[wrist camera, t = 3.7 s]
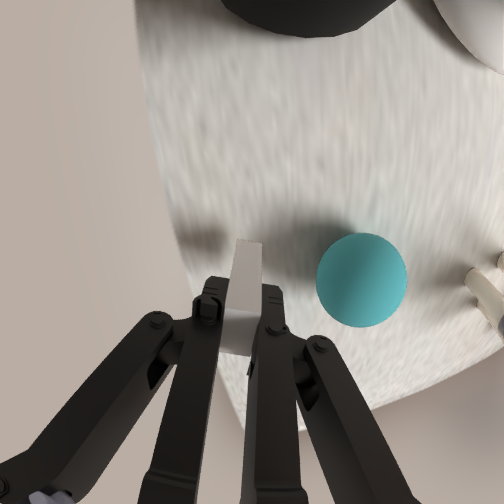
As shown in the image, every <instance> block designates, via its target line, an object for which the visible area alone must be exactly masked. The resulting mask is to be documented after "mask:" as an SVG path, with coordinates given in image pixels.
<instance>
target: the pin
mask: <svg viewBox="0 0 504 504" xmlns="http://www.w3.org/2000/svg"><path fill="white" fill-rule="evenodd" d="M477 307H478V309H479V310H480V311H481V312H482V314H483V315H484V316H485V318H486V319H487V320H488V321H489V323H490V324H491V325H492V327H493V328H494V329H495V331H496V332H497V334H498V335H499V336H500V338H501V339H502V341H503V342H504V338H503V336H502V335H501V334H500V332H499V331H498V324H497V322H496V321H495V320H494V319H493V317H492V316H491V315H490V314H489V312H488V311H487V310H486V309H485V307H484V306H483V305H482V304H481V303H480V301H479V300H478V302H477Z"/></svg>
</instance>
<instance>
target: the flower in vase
mask: <svg viewBox="0 0 504 504" xmlns="http://www.w3.org/2000/svg"><path fill="white" fill-rule="evenodd" d="M433 1H434V3H435V5H436V7H437V9H438V10H439V12H440V14H441V15H442V17H443V19H444V20H445V22H446V23H447V25H448V26H449V28H450V29H451V30H452V32H453V33H454V34H455V36H456V37H457V38H458V39H459V41H460V42H461V43H462V44H463V45H464V46H465V47H466V48H467V49H468V51H469V52H471V53H472V54H473V55H474V56H475V57H476V58H477V59H478V60H479V61H481V62H482V63H483V64H485V65H486V66H487V67H489V68H490V69H492V70H493V71H495V72H497V73H500V74H502V75H504V0H433Z"/></svg>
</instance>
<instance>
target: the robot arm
mask: <svg viewBox="0 0 504 504" xmlns="http://www.w3.org/2000/svg"><path fill="white" fill-rule="evenodd" d="M283 304H284V303H283V292H282V291H281V289H280V288H279V286H275V285H269V284H262V243H258V242H253V241H247V240H241V239H238V240H237V245H236V250H235V255H234V260H233V265H232V270H231V275H230V279H228V278H222V277H216V276H211V277H209V278H208V279H207V280H206V282H205V285H204V288H203V291H202V294H201V295H199V296H197V297H196V298H195V299H194V300H193V308H192V316H191V317H189V318H187V319H182V320H173V319H172V317H171V316H170V315H168V314H167V313H165V312H161V311H153V312H150V313H148V314H146V315H145V316H144V317H143V318H142V319H141V320H140V321H139V322H138V323H137V324H136V325H135V326H134V327H133V329H132V330H131V331H130V332H129V333H128V334H127V335H126V336H125V337H124V338H123V339H122V340H121V342H120V343H119V344H118V345H117V346H116V347H115V348H114V349H113V350H112V352H111V353H110V354H109V355H108V356H107V357H106V358H105V359H104V361H102V363H101V364H100V365H99V366H98V367H97V368H96V369H95V370H94V372H93V373H92V374H91V375H90V376H89V377H88V378H87V380H86V381H85V382H84V383H83V384H82V385H81V386H80V388H79V389H78V390H77V391H76V392H75V393H74V394H73V396H72V397H71V398H70V399H69V400H68V401H67V403H66V404H65V405H64V406H63V407H62V408H61V410H60V411H59V412H58V413H57V415H56V416H55V417H54V418H53V419H52V420H51V422H50V423H49V424H48V425H47V427H46V428H45V429H44V430H43V431H42V433H41V434H40V435H39V436H38V438H37V439H36V440H35V441H34V443H33V444H32V445H31V446H30V448H29V449H28V450H26V451H25V452H22V453H20V454H18V455H17V456H15V457H13V458H11V459H9V460H7V461H5V462H3V463H0V503H1V504H76V503H78V502H79V501H80V500H81V499H83V498H84V497H85V496H86V495H87V494H88V493H89V491H90V490H91V489H92V487H93V486H94V485H95V483H96V482H97V480H98V479H99V477H100V476H101V474H102V473H103V471H104V470H105V468H106V467H107V465H108V464H109V462H110V461H111V459H112V458H113V456H114V455H115V453H116V452H117V450H118V449H119V447H120V445H121V444H122V443H123V441H124V440H125V438H126V437H127V435H128V434H129V432H130V431H131V429H132V428H133V426H134V425H135V423H136V422H137V420H138V419H139V417H140V416H141V414H142V413H143V411H144V410H145V408H146V407H147V405H148V404H149V402H150V401H151V399H152V398H153V396H154V394H155V393H156V392H157V390H158V389H159V387H160V386H161V384H162V383H163V381H164V380H165V378H166V377H167V375H168V374H169V372H170V371H171V369H172V368H173V366H174V365H175V364H177V368H176V371H175V375H174V378H173V382H172V385H171V388H170V392H169V396H168V399H167V403H166V407H165V410H164V414H163V418H162V422H161V425H160V429H159V433H158V437H157V441H156V445H155V449H154V453H153V457H152V461H151V465H150V468H149V470H148V471H147V472H146V474H145V476H144V478H143V481H142V485H141V489H140V494H139V498H138V503H137V504H196V503H197V494H198V486H199V480H200V473H201V465H202V459H203V451H204V445H205V438H206V432H207V425H208V418H209V412H210V405H211V399H212V393H213V386H214V380H215V374H216V368H217V362H218V354H219V352H223V353H229V354H235V355H242V356H249V357H250V356H251V361H250V365H249V368H248V372H247V375H249V378H248V394H247V410H246V426H245V442H244V456H243V473H242V486H241V499H240V503H239V504H309V502H308V496H307V493H306V491H305V490H304V489H303V488H302V486H301V476H300V456H299V439H298V423H297V408H296V400H297V403H298V406H299V409H300V411H301V414H302V417H303V419H304V422H305V425H306V428H307V430H308V433H309V436H310V438H311V441H312V444H313V446H314V449H315V451H316V454H317V457H318V460H319V462H320V465H321V468H322V470H323V473H324V476H325V478H326V481H327V484H328V486H329V489H330V492H331V494H332V497H333V499H334V502H335V504H421V503H420V502H419V501H418V500H417V499H415V497H413V495H412V493H411V491H410V488H409V486H408V484H407V482H406V480H405V478H404V476H403V475H402V472H401V470H400V468H399V466H398V464H397V462H396V460H395V458H394V456H393V454H392V452H391V450H390V448H389V446H388V444H387V442H386V440H385V438H384V436H383V435H382V432H381V430H380V428H379V426H378V424H377V422H376V421H375V419H374V417H373V415H372V413H371V411H370V409H369V407H368V405H367V403H366V401H365V400H364V398H363V396H362V394H361V392H360V390H359V388H358V386H357V385H356V383H355V381H354V379H353V377H352V375H351V373H350V372H349V370H348V368H347V366H346V364H345V362H344V361H343V359H342V357H341V355H340V353H339V352H338V350H337V348H336V346H335V344H334V343H333V342H332V341H331V340H330V339H329V338H327V337H325V336H322V335H314V336H311V337H309V338H308V339H307V340H305V339H302V338H300V337H297V336H295V335H293V334H292V333H291V332H290V330H289V328H288V326H287V325H286V324H285V313H284V305H283ZM251 352H252V353H251Z"/></svg>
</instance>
